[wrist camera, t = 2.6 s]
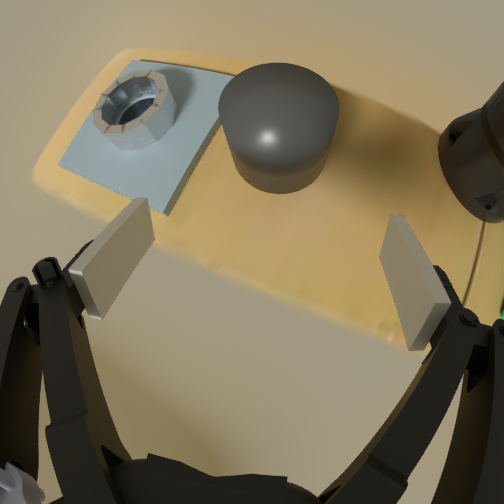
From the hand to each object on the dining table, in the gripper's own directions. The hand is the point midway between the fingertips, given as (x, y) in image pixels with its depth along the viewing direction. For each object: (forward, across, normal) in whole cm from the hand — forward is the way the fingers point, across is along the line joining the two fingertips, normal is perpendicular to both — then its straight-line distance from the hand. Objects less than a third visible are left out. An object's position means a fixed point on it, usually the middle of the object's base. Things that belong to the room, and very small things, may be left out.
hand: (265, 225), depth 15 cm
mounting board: (+23, -18, +2) cm, 29 cm away
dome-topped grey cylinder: (+18, 0, -3) cm, 18 cm away
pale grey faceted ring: (+22, -18, +3) cm, 28 cm away
